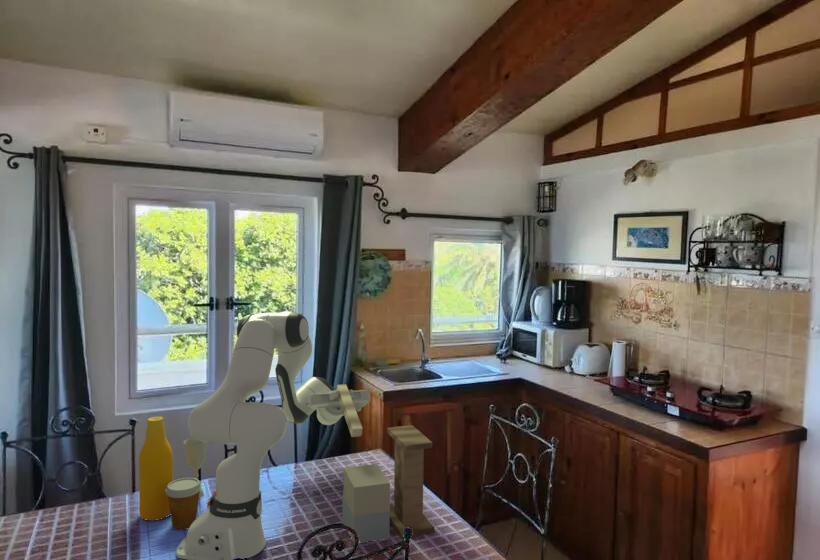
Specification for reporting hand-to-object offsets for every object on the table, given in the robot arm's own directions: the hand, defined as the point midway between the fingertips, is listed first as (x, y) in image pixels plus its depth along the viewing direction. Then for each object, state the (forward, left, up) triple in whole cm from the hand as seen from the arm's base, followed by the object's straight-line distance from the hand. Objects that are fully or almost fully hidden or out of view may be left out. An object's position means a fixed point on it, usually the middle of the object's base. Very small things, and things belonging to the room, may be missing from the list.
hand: (344, 392), depth 179 cm
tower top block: (+11, -23, -25) cm, 36 cm away
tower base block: (+11, -23, -33) cm, 42 cm away
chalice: (-46, -8, -33) cm, 58 cm away
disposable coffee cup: (-41, -26, -33) cm, 59 cm away
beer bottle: (-52, -21, -33) cm, 65 cm away
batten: (+2, -5, -5) cm, 8 cm away
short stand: (+23, -18, -33) cm, 44 cm away
